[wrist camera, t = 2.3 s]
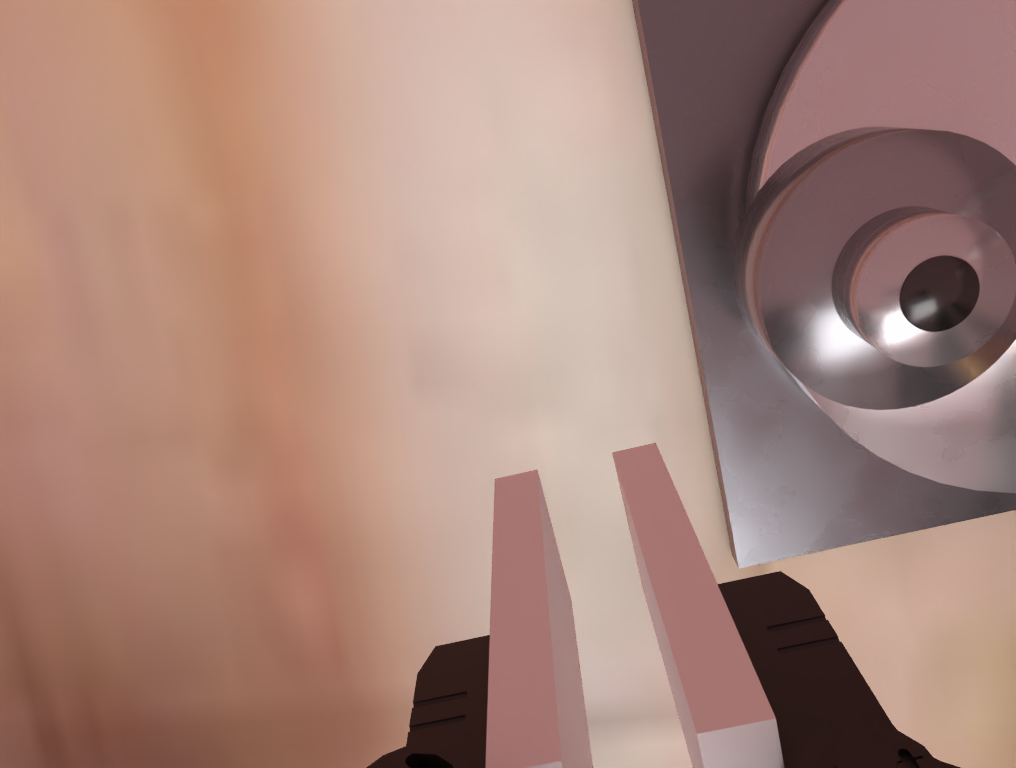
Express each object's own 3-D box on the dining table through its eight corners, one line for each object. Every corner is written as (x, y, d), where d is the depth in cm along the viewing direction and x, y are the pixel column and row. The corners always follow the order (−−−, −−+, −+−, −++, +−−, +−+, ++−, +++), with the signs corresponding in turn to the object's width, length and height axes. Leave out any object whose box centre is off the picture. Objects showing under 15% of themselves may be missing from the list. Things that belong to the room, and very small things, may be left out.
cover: (752, 401, 27) (804, 465, 22) (714, 163, 25) (764, 178, 20) (993, 346, 27) (1101, 400, 22) (980, 96, 24) (1098, 95, 19)
